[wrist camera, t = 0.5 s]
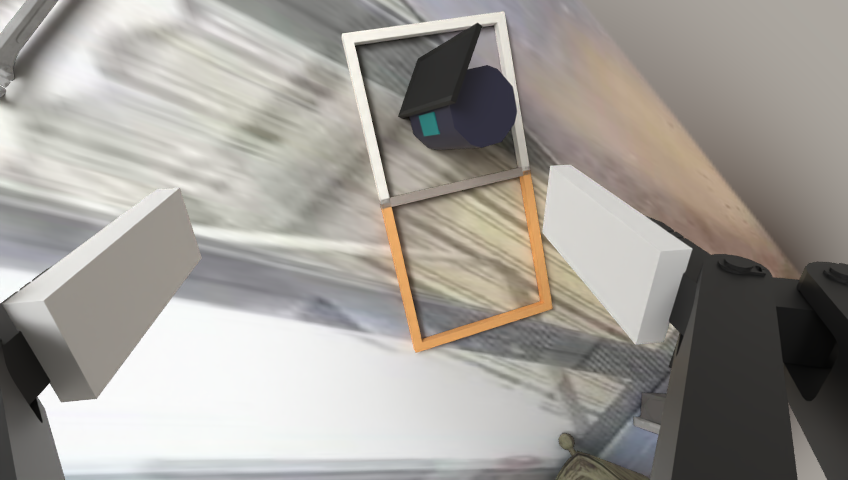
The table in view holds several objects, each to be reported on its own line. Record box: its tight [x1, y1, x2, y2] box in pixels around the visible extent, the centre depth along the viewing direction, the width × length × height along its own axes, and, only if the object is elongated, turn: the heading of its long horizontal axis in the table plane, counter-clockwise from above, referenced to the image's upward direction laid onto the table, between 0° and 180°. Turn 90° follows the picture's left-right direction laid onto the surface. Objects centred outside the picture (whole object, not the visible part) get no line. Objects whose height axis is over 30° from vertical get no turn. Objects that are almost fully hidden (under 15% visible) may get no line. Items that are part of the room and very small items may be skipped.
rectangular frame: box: [342, 11, 553, 353], centre depth 38 cm, size 28×15×1 cm, turn 13°
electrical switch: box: [633, 393, 666, 434], centre depth 44 cm, size 9×5×9 cm, turn 80°
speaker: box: [398, 23, 517, 150], centre depth 33 cm, size 8×6×10 cm
